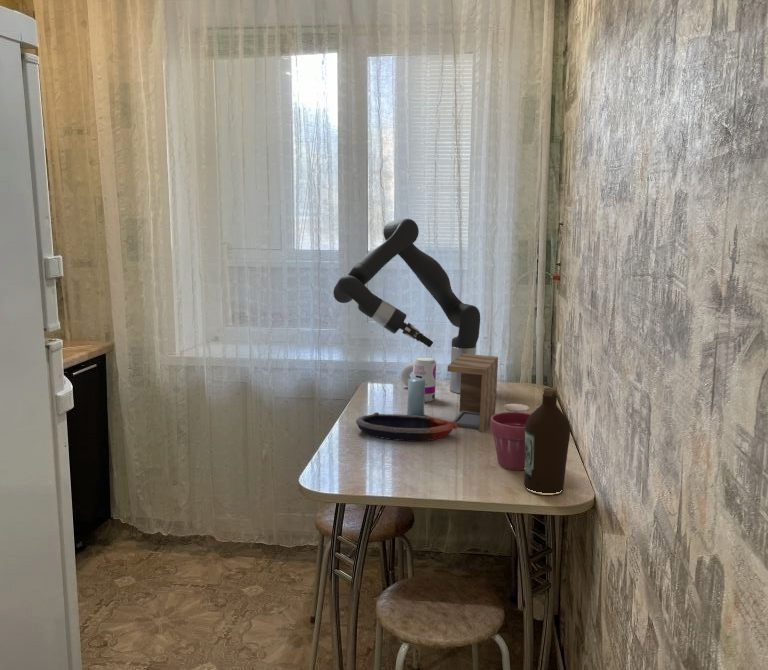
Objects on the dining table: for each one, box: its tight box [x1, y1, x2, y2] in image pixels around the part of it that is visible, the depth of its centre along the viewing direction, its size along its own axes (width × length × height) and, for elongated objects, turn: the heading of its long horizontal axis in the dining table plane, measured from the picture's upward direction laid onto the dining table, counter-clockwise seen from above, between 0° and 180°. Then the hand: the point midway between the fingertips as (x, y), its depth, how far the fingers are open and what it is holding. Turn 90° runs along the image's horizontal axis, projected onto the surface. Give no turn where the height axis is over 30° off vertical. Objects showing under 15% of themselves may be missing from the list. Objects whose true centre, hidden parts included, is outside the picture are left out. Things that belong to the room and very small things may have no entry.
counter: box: [446, 354, 499, 433], centre depth 221 cm, size 21×12×20 cm, turn 161°
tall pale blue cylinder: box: [406, 377, 426, 416], centre depth 227 cm, size 6×6×12 cm
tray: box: [451, 411, 480, 430], centre depth 222 cm, size 14×9×1 cm, turn 161°
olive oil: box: [523, 387, 571, 493], centre depth 166 cm, size 11×11×25 cm
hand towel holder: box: [503, 403, 530, 413], centre depth 220 cm, size 17×4×20 cm
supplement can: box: [412, 356, 437, 403], centre depth 246 cm, size 8×8×15 cm
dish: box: [355, 411, 458, 442], centre depth 207 cm, size 16×31×5 cm, turn 81°
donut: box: [400, 362, 413, 387], centre depth 262 cm, size 10×4×10 cm, turn 77°
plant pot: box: [489, 411, 532, 470], centre depth 183 cm, size 14×14×13 cm
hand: (430, 343), depth 224 cm, fingers open, 8 cm apart
